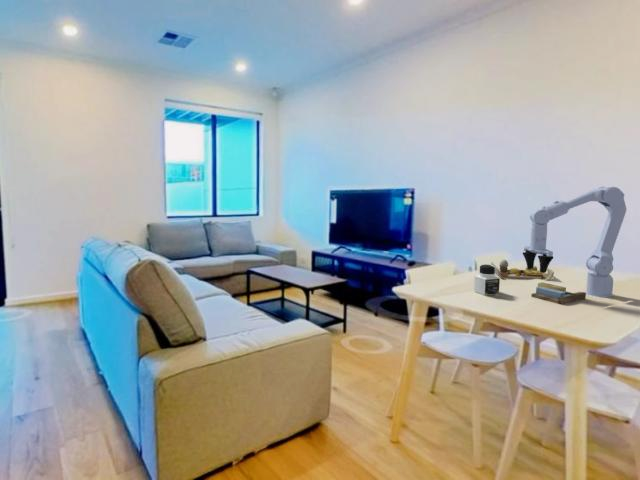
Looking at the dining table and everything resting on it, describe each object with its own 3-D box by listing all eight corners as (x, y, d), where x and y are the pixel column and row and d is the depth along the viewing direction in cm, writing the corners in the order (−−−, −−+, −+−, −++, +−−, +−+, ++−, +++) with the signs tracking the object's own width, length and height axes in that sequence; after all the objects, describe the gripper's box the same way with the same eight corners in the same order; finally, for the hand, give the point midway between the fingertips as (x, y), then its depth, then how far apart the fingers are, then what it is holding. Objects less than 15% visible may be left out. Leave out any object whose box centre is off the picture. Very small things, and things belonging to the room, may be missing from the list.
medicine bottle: (484, 295, 161) (486, 267, 160) (473, 291, 168) (474, 264, 167) (499, 294, 163) (500, 266, 162) (487, 290, 170) (488, 263, 169)
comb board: (531, 298, 157) (531, 289, 157) (555, 293, 164) (555, 285, 164) (560, 306, 147) (561, 297, 146) (585, 300, 154) (585, 292, 153)
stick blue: (565, 301, 151) (565, 292, 150) (560, 302, 150) (560, 293, 149) (540, 294, 160) (541, 286, 159) (535, 295, 158) (536, 287, 158)
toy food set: (496, 279, 191) (497, 264, 190) (490, 271, 209) (490, 257, 208) (554, 282, 185) (555, 266, 184) (542, 273, 203) (543, 259, 202)
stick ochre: (537, 291, 165) (537, 283, 165) (541, 290, 167) (542, 282, 166) (560, 297, 157) (561, 288, 156) (565, 296, 158) (566, 287, 157)
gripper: (518, 236, 169) (516, 267, 171) (542, 241, 155) (540, 274, 157) (532, 236, 171) (530, 266, 172) (558, 240, 156) (555, 273, 158)
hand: (536, 270), depth 165 cm, fingers open, 7 cm apart
